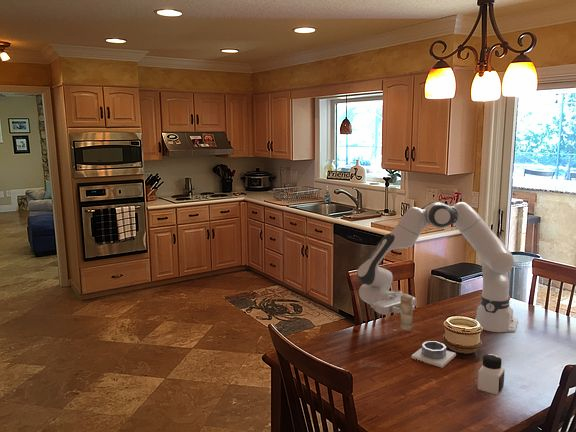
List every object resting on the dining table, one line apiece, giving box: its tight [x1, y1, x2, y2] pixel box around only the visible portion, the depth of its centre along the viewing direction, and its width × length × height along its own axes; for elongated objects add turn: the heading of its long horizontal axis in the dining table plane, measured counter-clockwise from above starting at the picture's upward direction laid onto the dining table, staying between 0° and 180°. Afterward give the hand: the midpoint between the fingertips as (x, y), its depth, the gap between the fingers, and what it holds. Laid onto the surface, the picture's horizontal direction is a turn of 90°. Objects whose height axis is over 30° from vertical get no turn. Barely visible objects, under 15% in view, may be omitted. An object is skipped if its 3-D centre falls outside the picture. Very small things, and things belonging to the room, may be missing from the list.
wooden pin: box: [399, 294, 414, 331], centre depth 206 cm, size 5×5×14 cm
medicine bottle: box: [477, 353, 505, 396], centre depth 169 cm, size 7×7×12 cm
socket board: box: [411, 340, 457, 369], centre depth 194 cm, size 13×13×5 cm
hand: (408, 309), depth 205 cm, fingers closed on wooden pin, 5 cm apart
